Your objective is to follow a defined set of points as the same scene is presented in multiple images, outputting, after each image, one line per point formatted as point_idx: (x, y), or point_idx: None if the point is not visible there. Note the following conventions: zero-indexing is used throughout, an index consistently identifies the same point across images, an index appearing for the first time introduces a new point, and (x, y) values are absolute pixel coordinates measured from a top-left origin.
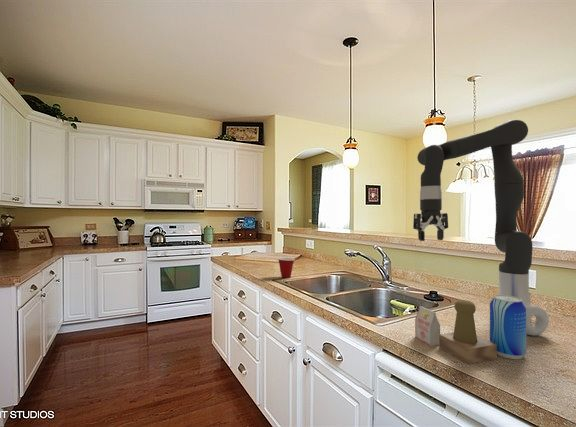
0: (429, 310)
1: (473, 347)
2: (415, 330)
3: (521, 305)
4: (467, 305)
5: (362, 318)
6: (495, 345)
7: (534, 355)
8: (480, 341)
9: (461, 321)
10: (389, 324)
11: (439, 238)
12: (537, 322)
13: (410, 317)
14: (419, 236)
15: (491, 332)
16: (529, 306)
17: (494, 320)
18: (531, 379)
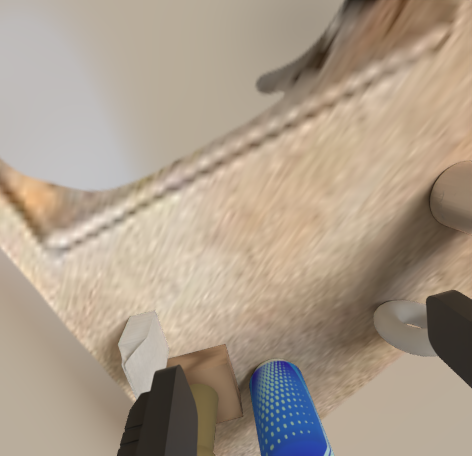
0: (135, 397)
1: None
2: (126, 326)
3: None
4: None
5: (7, 195)
6: (240, 415)
7: (314, 380)
8: (221, 407)
9: None
10: (85, 243)
11: (441, 330)
12: (419, 321)
13: (167, 190)
14: (137, 440)
15: (254, 406)
16: (426, 352)
17: (258, 440)
18: (246, 439)
